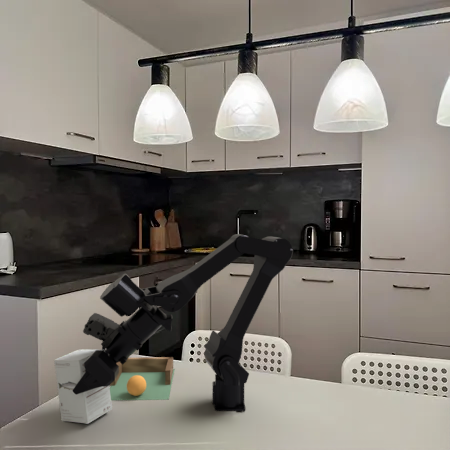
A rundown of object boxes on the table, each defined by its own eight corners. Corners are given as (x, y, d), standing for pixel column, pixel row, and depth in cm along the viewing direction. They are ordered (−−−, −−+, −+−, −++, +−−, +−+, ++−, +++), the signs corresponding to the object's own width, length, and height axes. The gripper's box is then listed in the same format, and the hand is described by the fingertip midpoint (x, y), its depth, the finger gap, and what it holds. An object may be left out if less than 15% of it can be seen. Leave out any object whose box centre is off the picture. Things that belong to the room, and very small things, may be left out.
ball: (147, 390, 99) (147, 372, 99) (144, 399, 95) (144, 379, 94) (128, 390, 99) (128, 372, 99) (125, 399, 94) (124, 380, 94)
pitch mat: (174, 370, 113) (174, 368, 112) (168, 400, 95) (168, 399, 95) (119, 370, 112) (119, 369, 112) (103, 401, 94) (102, 400, 94)
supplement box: (60, 422, 85) (52, 359, 85) (87, 406, 92) (80, 348, 92) (87, 425, 82) (78, 359, 82) (113, 408, 88) (105, 348, 88)
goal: (173, 370, 112) (173, 357, 111) (170, 384, 102) (170, 370, 102) (118, 370, 111) (118, 357, 111) (110, 385, 102) (110, 371, 102)
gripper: (119, 292, 95) (69, 340, 95) (96, 313, 77) (34, 372, 77) (154, 327, 96) (104, 374, 96) (139, 357, 77) (77, 415, 77)
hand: (81, 382), depth 86 cm, fingers closed on supplement box, 9 cm apart
